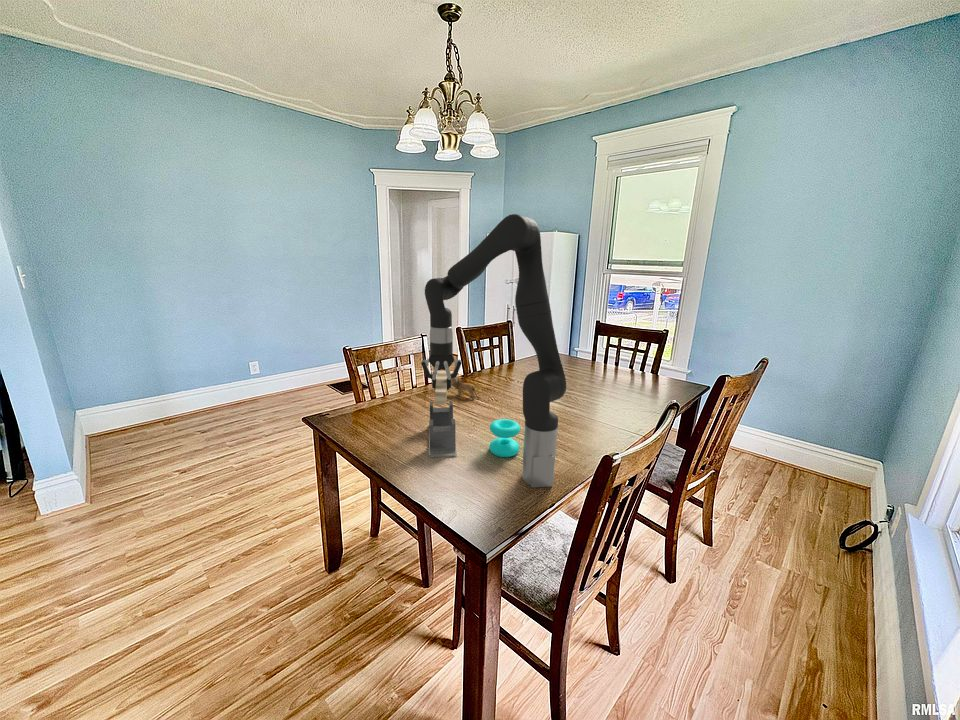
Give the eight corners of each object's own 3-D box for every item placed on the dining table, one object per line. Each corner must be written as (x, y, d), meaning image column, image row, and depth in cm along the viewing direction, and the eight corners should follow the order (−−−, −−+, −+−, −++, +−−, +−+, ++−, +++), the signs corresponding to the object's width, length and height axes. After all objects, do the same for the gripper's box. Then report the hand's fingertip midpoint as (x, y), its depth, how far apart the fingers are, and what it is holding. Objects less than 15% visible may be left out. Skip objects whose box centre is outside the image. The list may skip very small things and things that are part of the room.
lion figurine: (448, 395, 177) (448, 377, 175) (453, 392, 182) (453, 374, 179) (477, 401, 172) (477, 382, 169) (482, 397, 176) (482, 378, 174)
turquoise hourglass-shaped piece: (513, 416, 131) (525, 428, 122) (512, 442, 134) (523, 456, 125) (486, 419, 129) (495, 432, 119) (485, 446, 131) (494, 460, 122)
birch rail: (446, 403, 120) (446, 391, 119) (435, 404, 120) (435, 392, 119) (447, 381, 141) (447, 371, 140) (437, 381, 141) (437, 371, 140)
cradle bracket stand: (456, 456, 124) (456, 426, 121) (428, 457, 123) (428, 427, 120) (453, 424, 147) (452, 399, 144) (429, 425, 146) (428, 399, 143)
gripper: (419, 342, 121) (420, 393, 126) (463, 342, 123) (463, 392, 127) (419, 337, 128) (421, 386, 133) (461, 337, 130) (461, 385, 135)
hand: (441, 389), depth 130 cm, fingers closed on birch rail, 3 cm apart
